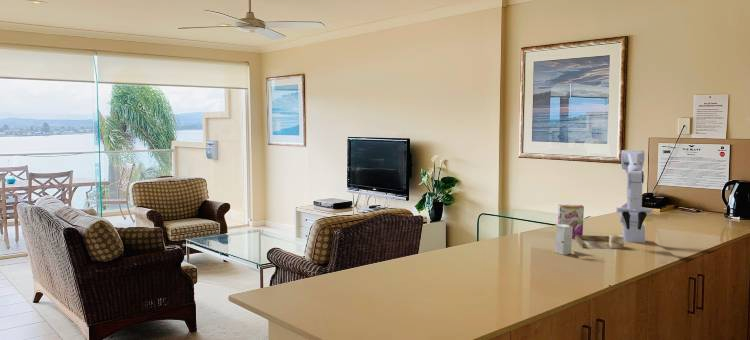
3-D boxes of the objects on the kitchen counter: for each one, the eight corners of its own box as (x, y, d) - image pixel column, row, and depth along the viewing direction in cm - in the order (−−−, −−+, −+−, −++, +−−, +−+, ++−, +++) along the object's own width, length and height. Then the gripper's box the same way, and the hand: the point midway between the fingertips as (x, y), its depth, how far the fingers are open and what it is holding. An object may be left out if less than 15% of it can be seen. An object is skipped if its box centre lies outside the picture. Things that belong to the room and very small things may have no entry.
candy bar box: (559, 239, 283) (560, 205, 281) (556, 237, 288) (557, 203, 286) (583, 239, 282) (584, 205, 280) (580, 237, 287) (581, 204, 285)
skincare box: (554, 252, 254) (555, 224, 253) (563, 251, 255) (564, 223, 254) (563, 255, 248) (564, 226, 247) (572, 254, 249) (573, 226, 248)
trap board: (615, 243, 274) (615, 236, 273) (626, 252, 254) (626, 245, 254) (574, 241, 277) (575, 235, 276) (582, 250, 257) (582, 243, 257)
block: (620, 246, 261) (621, 234, 261) (623, 248, 256) (623, 237, 256) (608, 245, 262) (609, 234, 262) (611, 247, 257) (611, 236, 257)
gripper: (619, 199, 254) (618, 230, 255) (655, 199, 251) (653, 231, 252) (615, 197, 261) (614, 227, 262) (650, 197, 258) (649, 228, 259)
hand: (633, 229), depth 257 cm, fingers open, 4 cm apart
